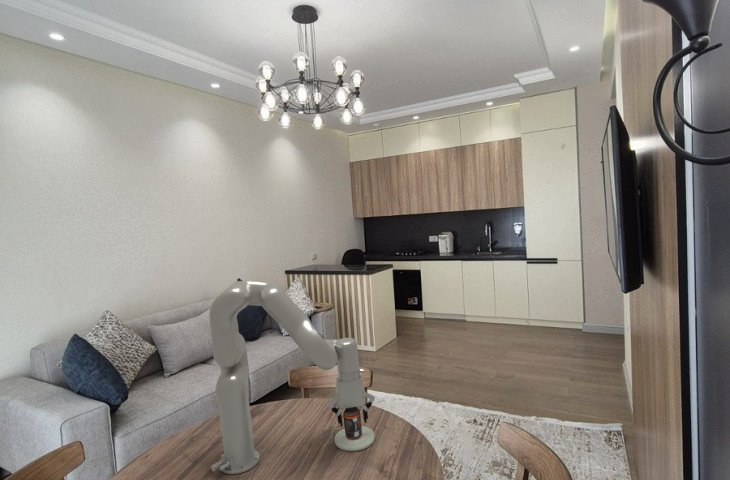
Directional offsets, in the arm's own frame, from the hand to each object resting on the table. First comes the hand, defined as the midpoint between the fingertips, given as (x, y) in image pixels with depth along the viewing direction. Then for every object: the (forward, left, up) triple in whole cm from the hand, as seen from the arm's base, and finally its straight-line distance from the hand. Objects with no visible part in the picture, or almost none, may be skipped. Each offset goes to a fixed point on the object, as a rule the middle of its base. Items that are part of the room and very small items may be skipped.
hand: (353, 422), depth 141 cm
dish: (0, 0, -6) cm, 6 cm away
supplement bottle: (0, 0, -5) cm, 5 cm away
